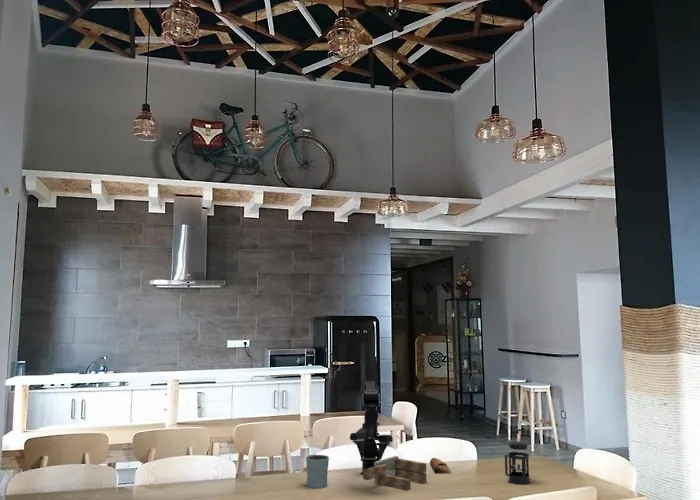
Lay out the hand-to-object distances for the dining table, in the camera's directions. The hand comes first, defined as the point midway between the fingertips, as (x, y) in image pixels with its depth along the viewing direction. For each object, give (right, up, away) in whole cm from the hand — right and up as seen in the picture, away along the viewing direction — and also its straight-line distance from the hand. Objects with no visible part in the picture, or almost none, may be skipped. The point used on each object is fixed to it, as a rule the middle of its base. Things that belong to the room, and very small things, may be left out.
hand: (370, 458), depth 239 cm
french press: (+67, -15, +12) cm, 70 cm away
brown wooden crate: (+14, -14, +9) cm, 22 cm away
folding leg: (+2, -9, +3) cm, 10 cm away
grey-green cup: (-23, -14, +5) cm, 27 cm away
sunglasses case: (+35, -19, +34) cm, 53 cm away
